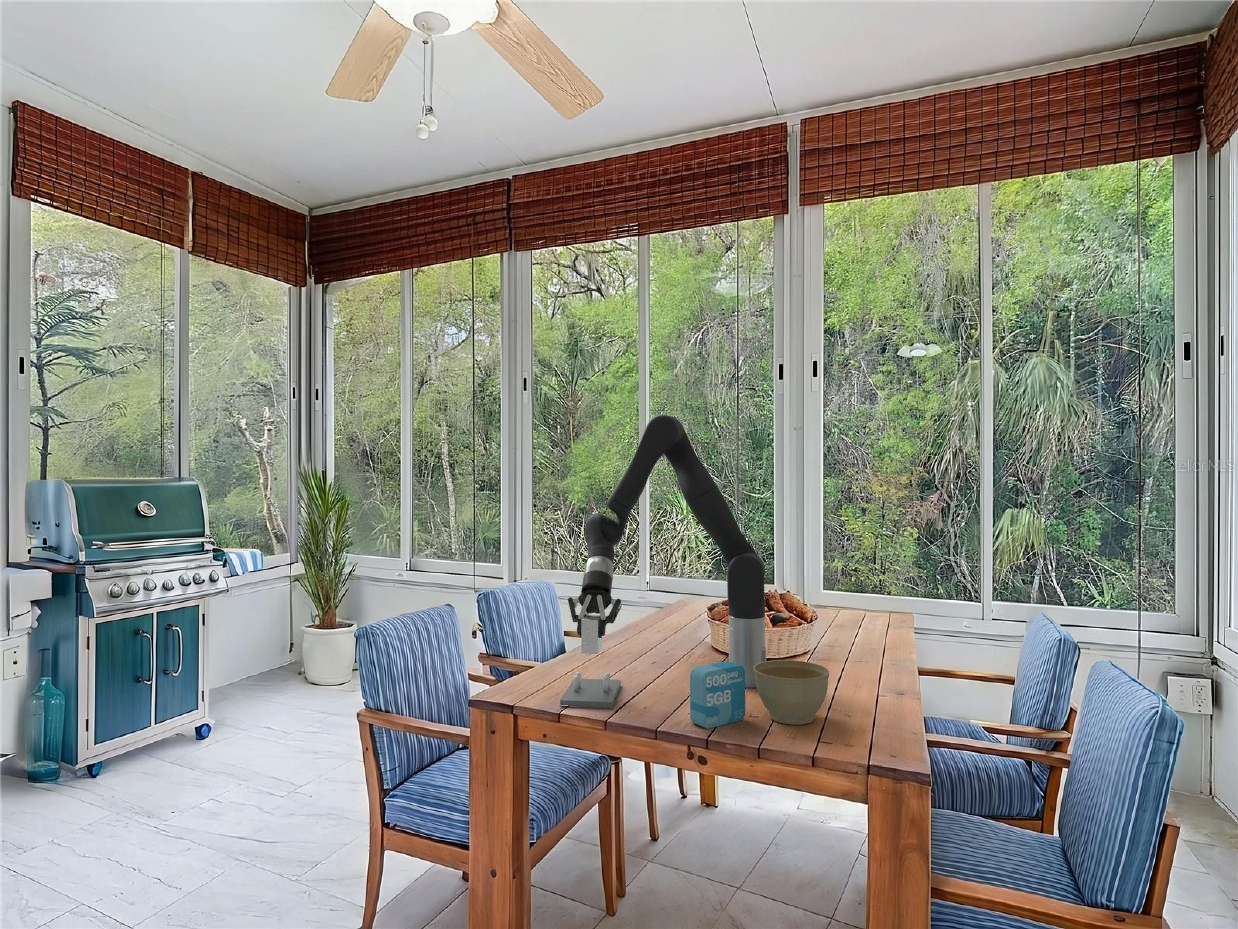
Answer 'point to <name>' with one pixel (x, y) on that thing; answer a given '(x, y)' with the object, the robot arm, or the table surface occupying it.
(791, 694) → the planter bowl
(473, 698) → the table surface
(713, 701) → the data package
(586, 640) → the block
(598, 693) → the drive dock
